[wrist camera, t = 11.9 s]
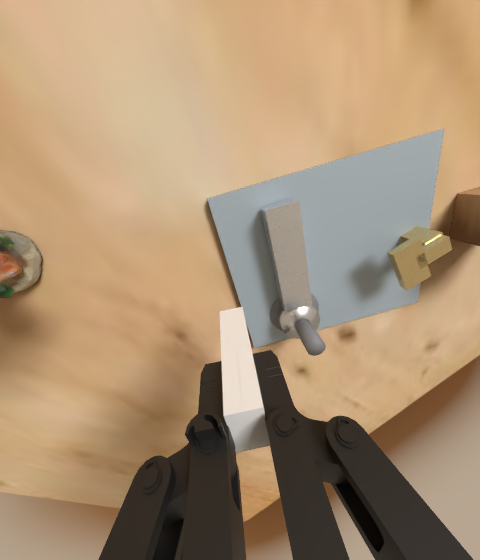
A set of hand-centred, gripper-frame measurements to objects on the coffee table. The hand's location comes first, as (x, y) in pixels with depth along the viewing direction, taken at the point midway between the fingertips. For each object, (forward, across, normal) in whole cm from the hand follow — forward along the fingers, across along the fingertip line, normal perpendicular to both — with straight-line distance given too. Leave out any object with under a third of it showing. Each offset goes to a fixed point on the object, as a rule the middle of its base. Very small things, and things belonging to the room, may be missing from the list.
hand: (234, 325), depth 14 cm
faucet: (+9, +6, -2) cm, 11 cm away
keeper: (+10, +19, -2) cm, 21 cm away
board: (+10, +11, -1) cm, 15 cm away
